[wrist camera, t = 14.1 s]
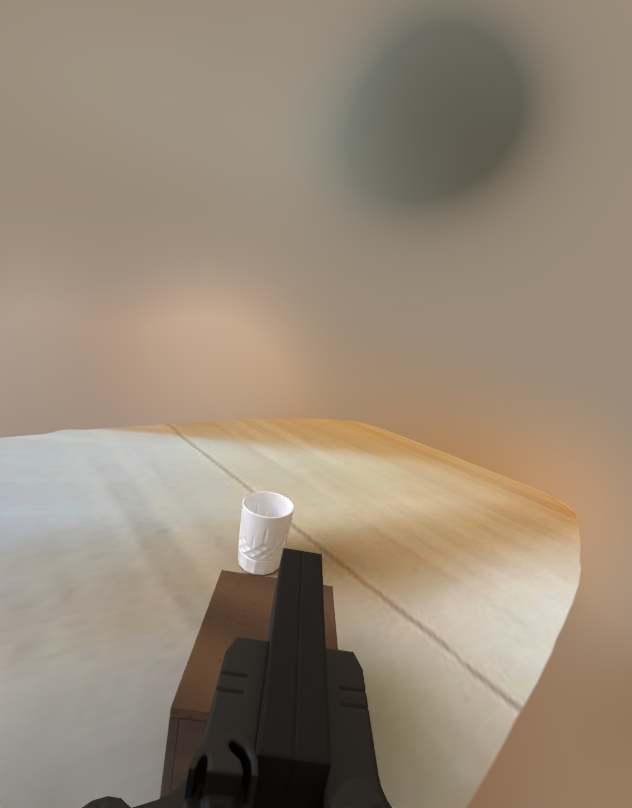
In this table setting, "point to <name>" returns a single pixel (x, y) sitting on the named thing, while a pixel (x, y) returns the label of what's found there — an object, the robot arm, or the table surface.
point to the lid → (232, 636)
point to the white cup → (263, 531)
